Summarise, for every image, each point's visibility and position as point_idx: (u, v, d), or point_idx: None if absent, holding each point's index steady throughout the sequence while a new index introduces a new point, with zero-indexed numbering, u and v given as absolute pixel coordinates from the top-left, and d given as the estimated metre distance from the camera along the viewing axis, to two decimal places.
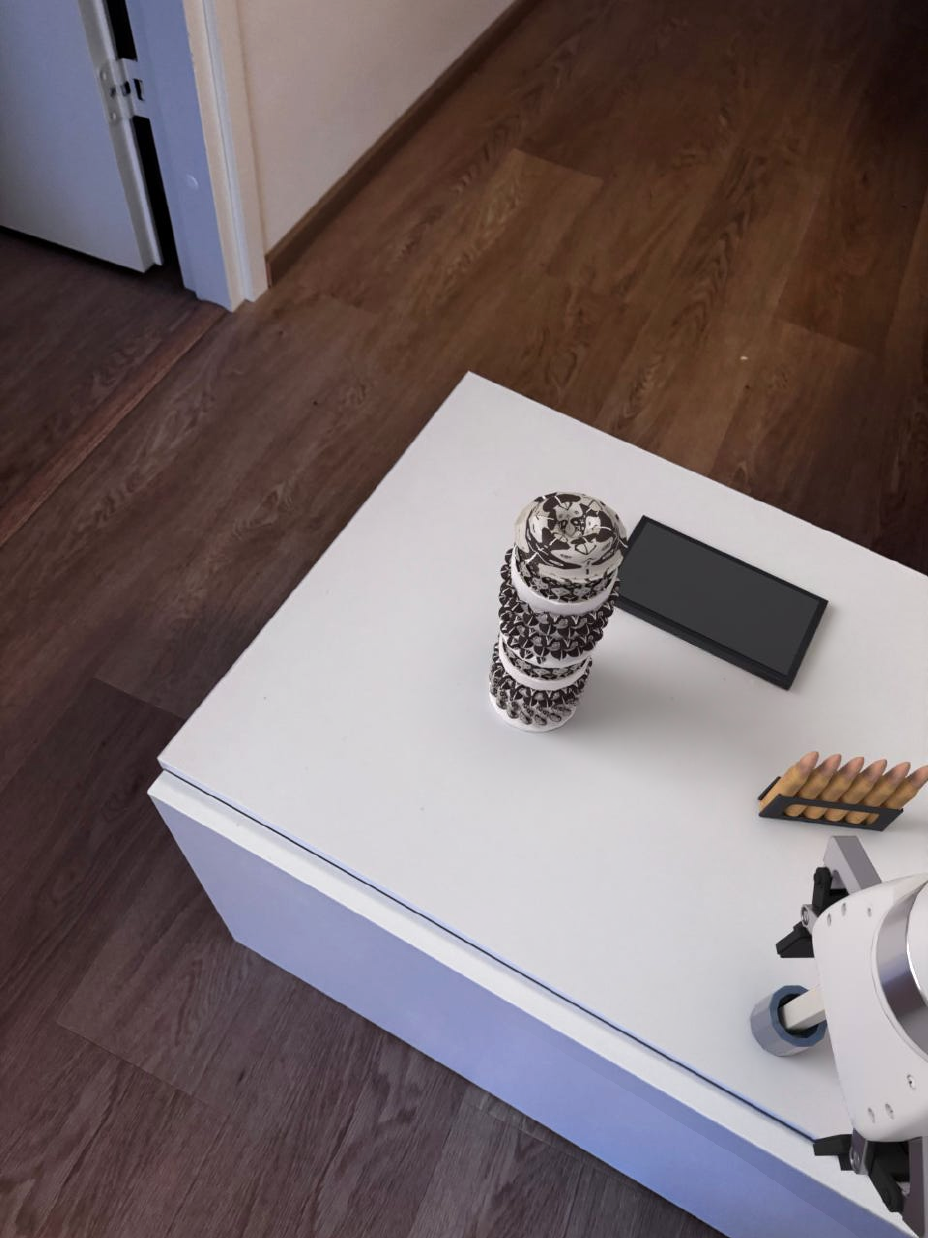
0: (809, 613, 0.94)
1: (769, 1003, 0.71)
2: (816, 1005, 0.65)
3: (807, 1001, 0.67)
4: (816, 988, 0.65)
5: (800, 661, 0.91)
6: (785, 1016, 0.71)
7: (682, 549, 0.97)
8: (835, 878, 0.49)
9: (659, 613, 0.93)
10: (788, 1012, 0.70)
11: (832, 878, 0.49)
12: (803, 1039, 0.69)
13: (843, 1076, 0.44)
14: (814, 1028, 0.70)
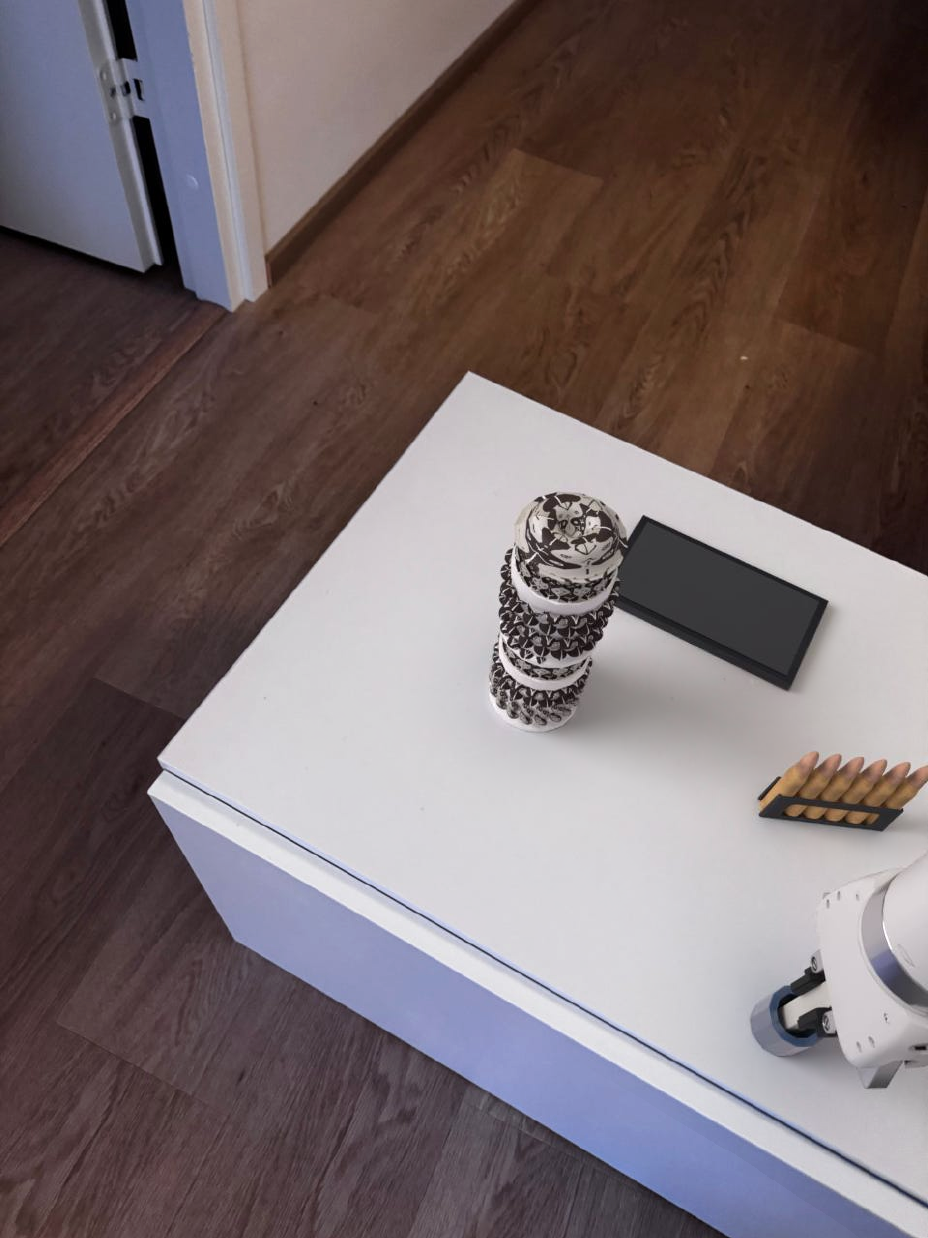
0: (809, 613, 0.94)
1: (769, 1003, 0.71)
2: (816, 1005, 0.65)
3: (807, 1001, 0.67)
4: (816, 988, 0.65)
5: (800, 661, 0.91)
6: (785, 1016, 0.71)
7: (682, 549, 0.97)
8: None
9: (659, 613, 0.93)
10: (788, 1012, 0.70)
11: None
12: (803, 1039, 0.69)
13: (838, 1021, 0.59)
14: None
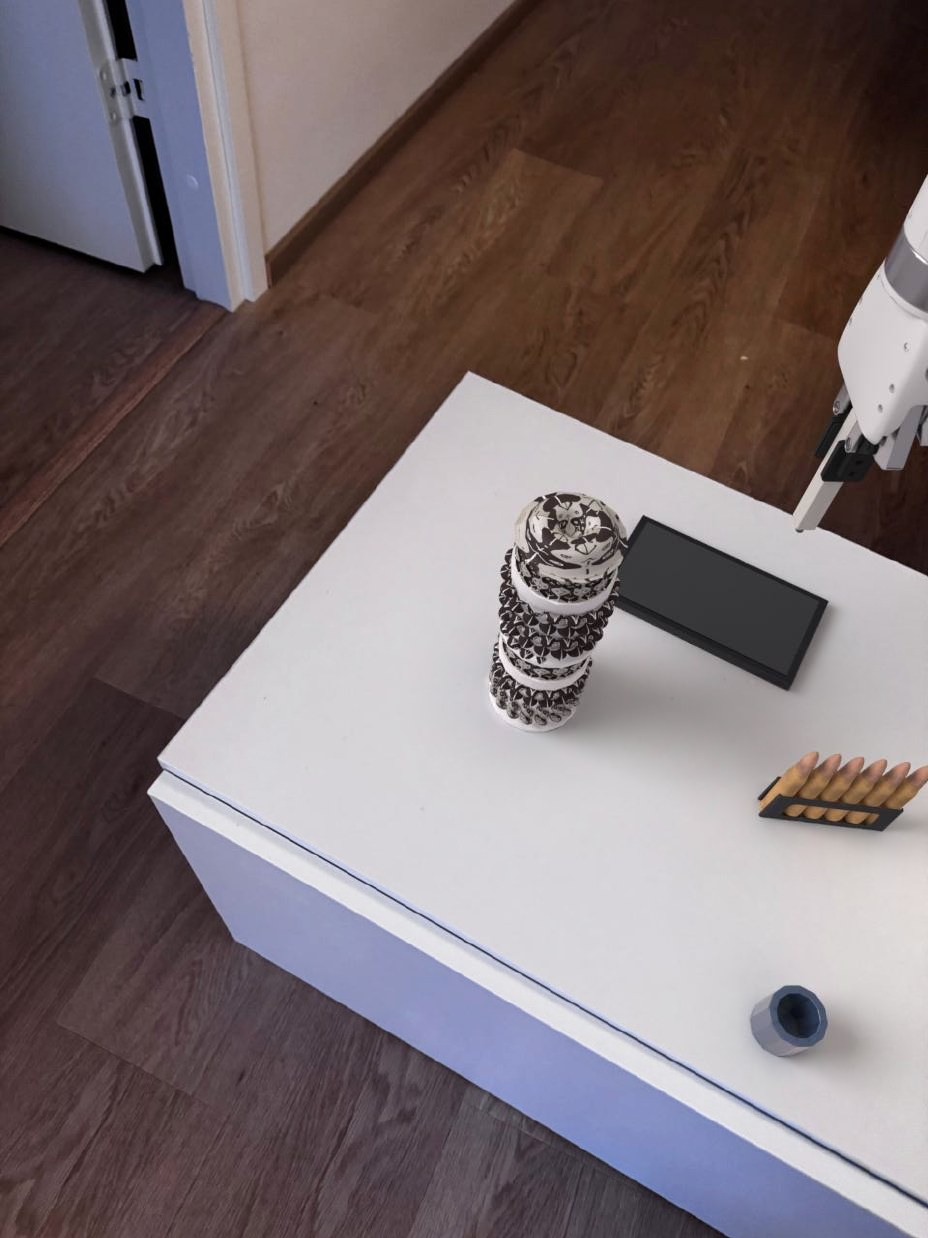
0: (809, 613, 0.94)
1: (769, 1003, 0.71)
2: None
3: (828, 458, 0.74)
4: (837, 435, 0.72)
5: (800, 661, 0.91)
6: (807, 498, 0.78)
7: (682, 549, 0.97)
8: None
9: (659, 613, 0.93)
10: (810, 491, 0.77)
11: None
12: (803, 1039, 0.69)
13: (860, 411, 0.66)
14: (814, 1028, 0.70)
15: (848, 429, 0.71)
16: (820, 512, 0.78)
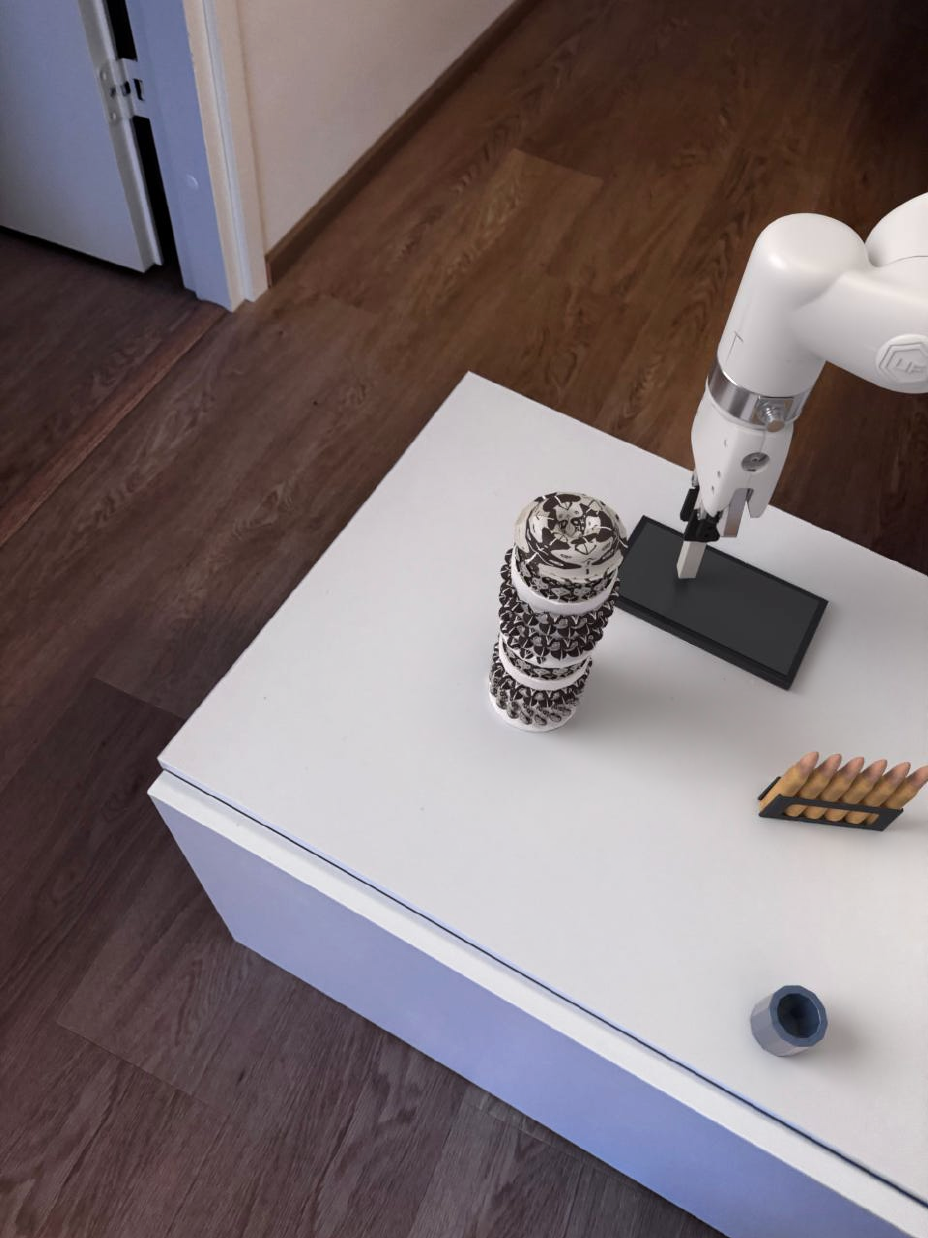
0: (809, 613, 0.94)
1: (769, 1003, 0.71)
2: None
3: None
4: None
5: (800, 661, 0.91)
6: (683, 553, 0.92)
7: None
8: None
9: (659, 613, 0.93)
10: (684, 547, 0.91)
11: None
12: (803, 1039, 0.69)
13: (702, 489, 0.80)
14: (814, 1028, 0.70)
15: (700, 499, 0.85)
16: (695, 564, 0.92)
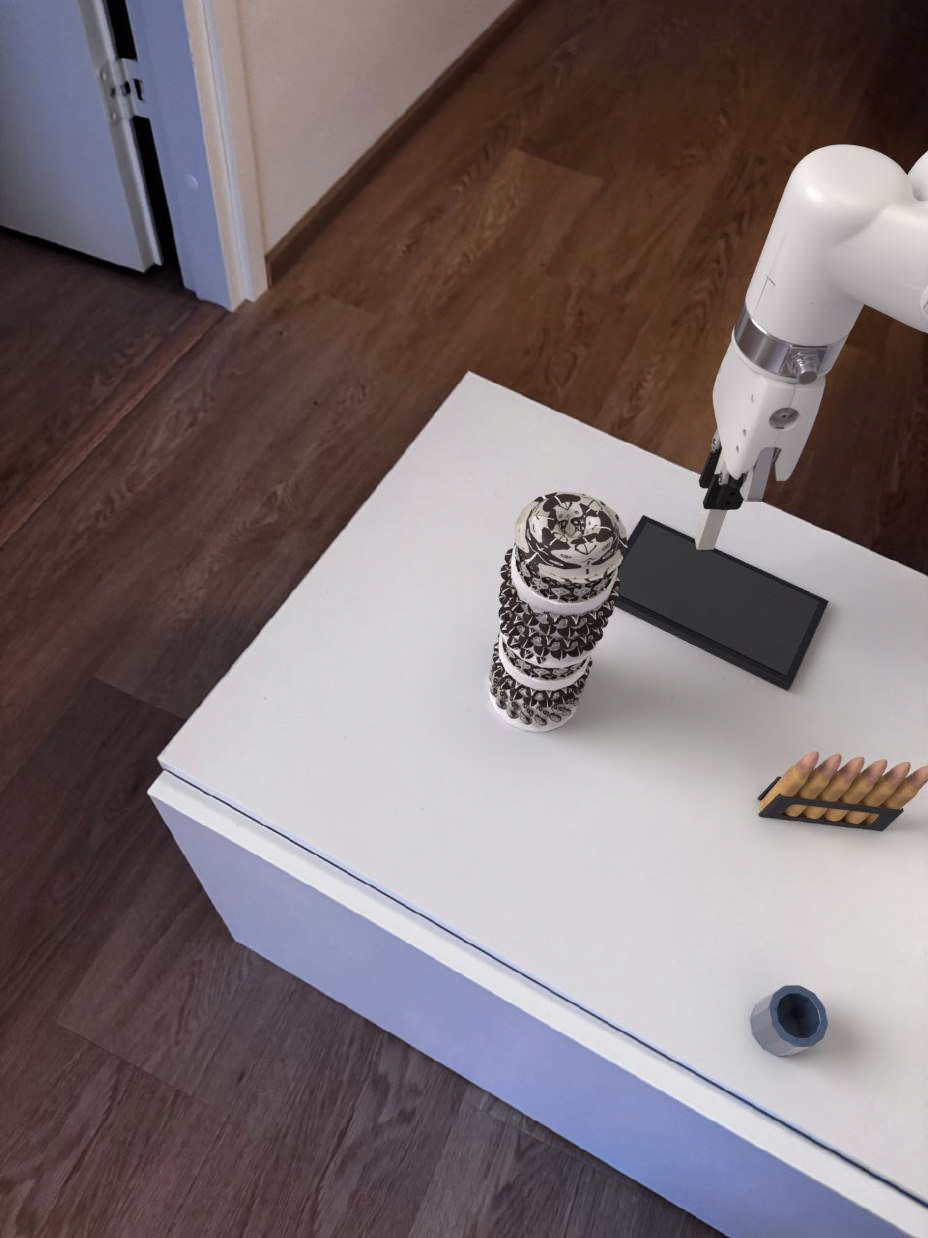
0: (809, 613, 0.94)
1: (769, 1003, 0.71)
2: None
3: None
4: (716, 468, 0.82)
5: (800, 661, 0.91)
6: (701, 522, 0.87)
7: (682, 549, 0.97)
8: None
9: (659, 613, 0.93)
10: (703, 516, 0.87)
11: None
12: (803, 1039, 0.69)
13: (725, 450, 0.76)
14: (814, 1028, 0.70)
15: (721, 463, 0.80)
16: (714, 534, 0.87)
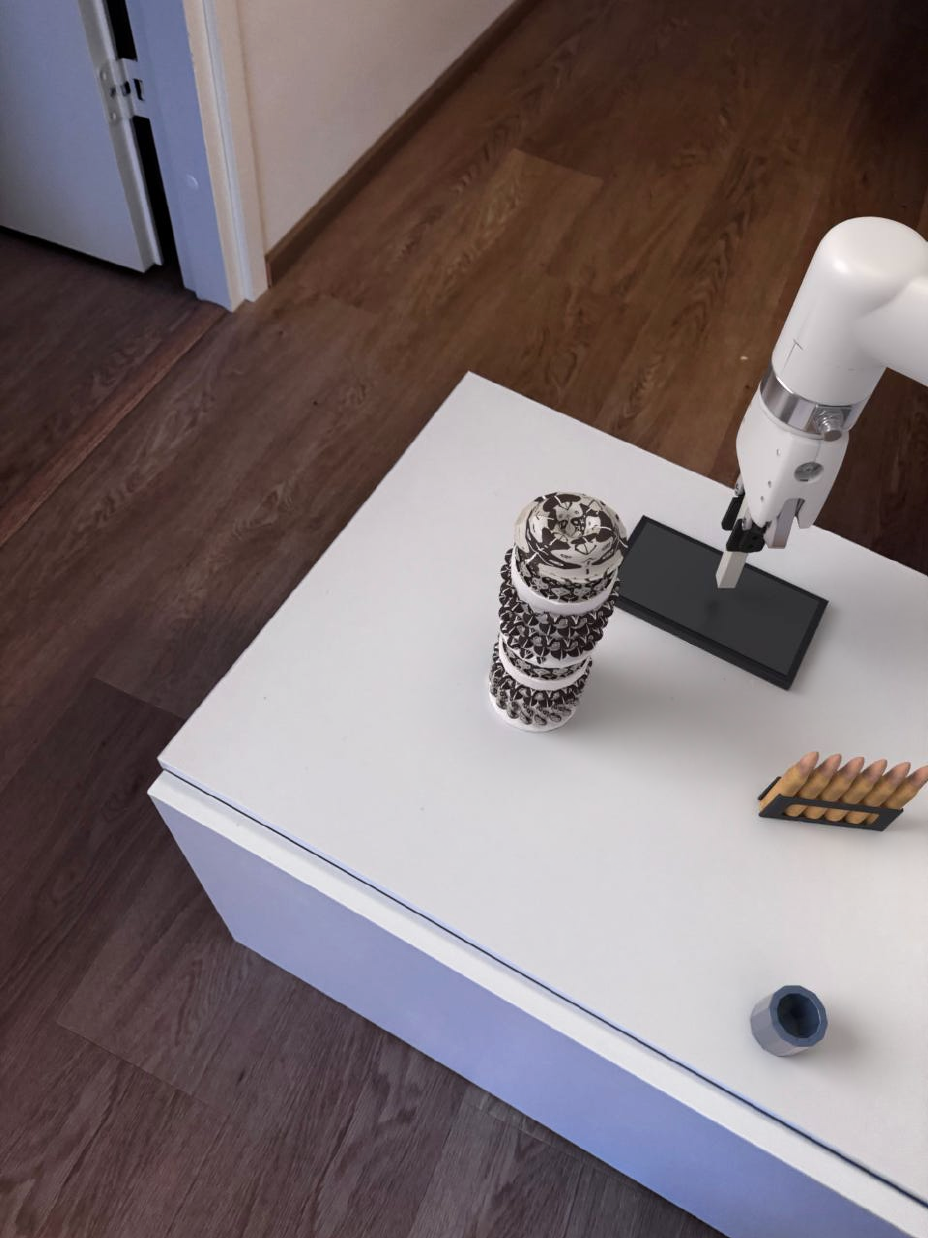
0: (809, 613, 0.94)
1: (769, 1003, 0.71)
2: None
3: None
4: (739, 512, 0.84)
5: (800, 661, 0.91)
6: (723, 562, 0.90)
7: (682, 549, 0.97)
8: None
9: (659, 613, 0.93)
10: (725, 556, 0.89)
11: None
12: (803, 1039, 0.69)
13: (750, 498, 0.78)
14: (814, 1028, 0.70)
15: (744, 509, 0.83)
16: (736, 574, 0.90)
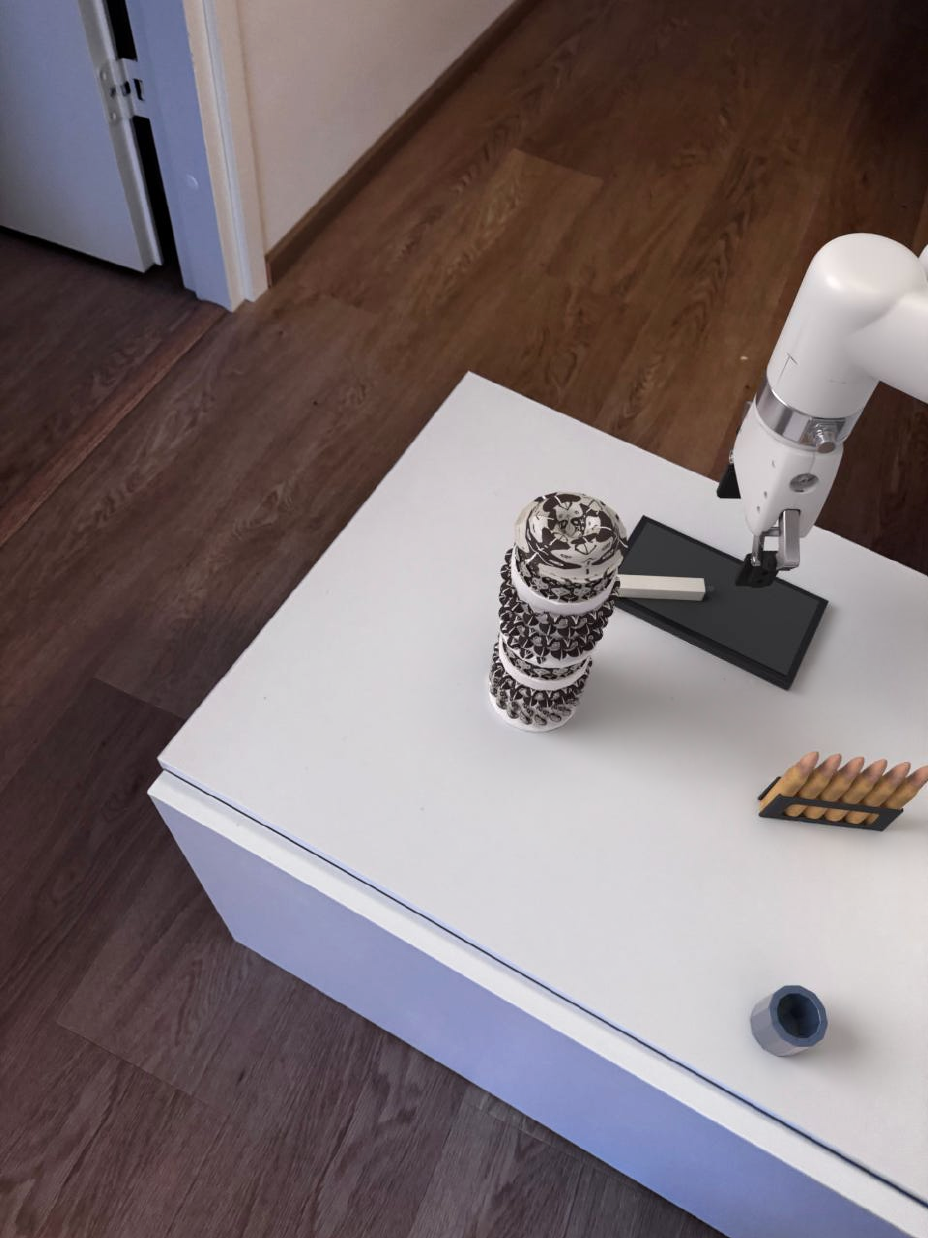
0: (809, 613, 0.94)
1: (769, 1003, 0.71)
2: None
3: None
4: None
5: (800, 661, 0.91)
6: None
7: (682, 549, 0.97)
8: None
9: (659, 613, 0.93)
10: None
11: None
12: (803, 1039, 0.69)
13: (746, 508, 0.79)
14: (814, 1028, 0.70)
15: None
16: (679, 593, 0.93)
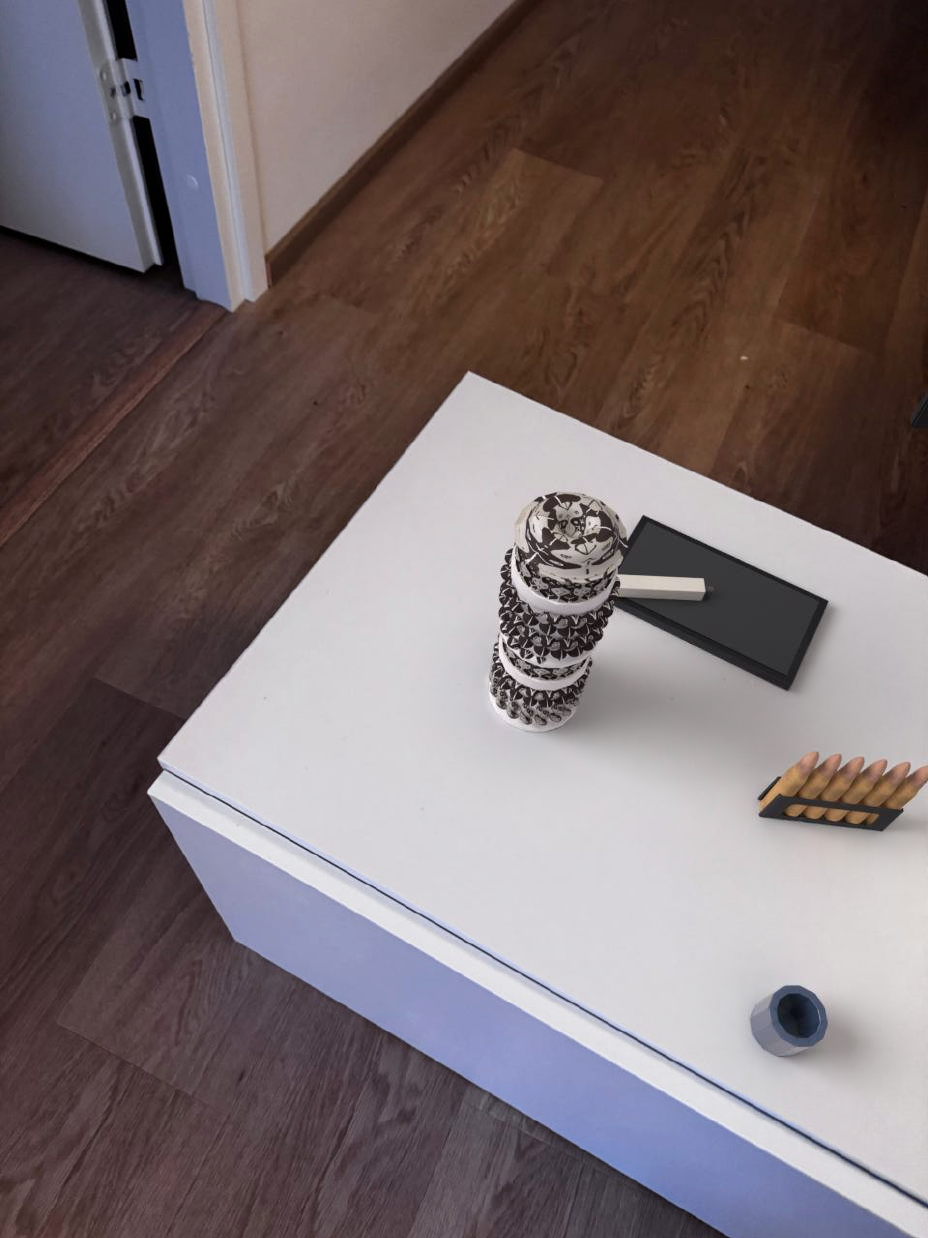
0: (809, 613, 0.94)
1: (769, 1003, 0.71)
2: None
3: None
4: None
5: (800, 661, 0.91)
6: None
7: (682, 549, 0.97)
8: None
9: (659, 613, 0.93)
10: None
11: None
12: (803, 1039, 0.69)
13: None
14: (814, 1028, 0.70)
15: None
16: (679, 593, 0.93)
